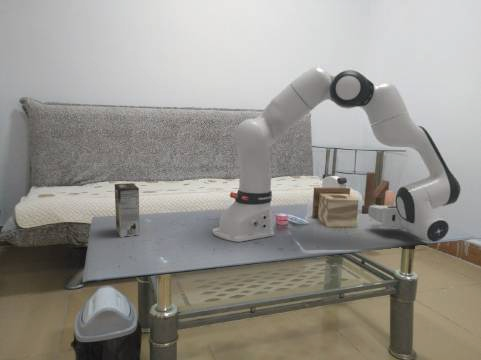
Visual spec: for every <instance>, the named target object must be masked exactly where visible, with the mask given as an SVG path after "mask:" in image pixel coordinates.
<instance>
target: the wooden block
mask: <svg viewBox="0 0 481 360" xmlns="http://www.w3.org/2000/svg"><path fill="white" fill-rule="evenodd" d="M376 175H377V173H376V172H373V171H368V172H366V177H365V178H366V179H365V180H366V181H365V188H364V189H365V191H364V202H363V205H362V206H361V214H364V215H366V214H367V215H368V210H369V206H374V205H379V206H384V202H385V193H386V190H389V189H390V181H388V180H384V179H383V180H382V181H381V182H380V183H379V184H378V185H377V186H376V185H375V184H376ZM375 187H376V188H375ZM374 200H375V201H374Z"/></svg>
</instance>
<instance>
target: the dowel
mask: <svg viewBox="0 0 481 360" xmlns="http://www.w3.org/2000/svg"><path fill="white" fill-rule="evenodd" d="M395 195H396V191H394V190H386V193H385V202H384V206H395V198H396V196H395Z"/></svg>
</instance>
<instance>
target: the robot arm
mask: <svg viewBox="0 0 481 360" xmlns="http://www.w3.org/2000/svg"><path fill="white" fill-rule="evenodd" d="M327 100H329V101H331V102H333V103H334V104H335V105H336V106H337V107H340V108H342V109H346V110H347V109H354V108H361V109H363V111H364V112H365V114H366V116H367V119H368V121H369V123H370V124H369V125H370V127H371V129H372V130H371V131H372V133H373V135H374V137H375V139H376V141H377V142H379V143H381V144H382V145H384V146H387V147H395V148H410V149H413V150H415V151H416V152H417V153H418V154H419V155H420V157H421V159H422V160H423V163H424V165H425V166H426V169H427V170H428V172H429V175H428V177H425V178H422V179H420V180H417V181H414V182H413V181H412V182H411V183H408V184H406V185H404V186H401V187H400V188H398V189H397V192H396V194H395V195H396V196H395V198H394V204H395V205H394V206H379V205H375V204H373V205H374V206H369V210H368V214H367V215H368V217H370V218H371V219H373V220H374V221H377V222H379V223H381V226H384V227H388V228H393V229H394V228H396V229H399V230H404V231H405V232H408V233H410V234H412V235H413V236H415V237H417V238H419V239H420V240H423V241H426V242H429V243H431V242H432V243H434V242H438V241H440V240H441V241H442V239H444V238H445V237H446V236H447V235H448V233H449V230H450V227H449V223H448V221H446V220H445V219H444V218H442V216H439V215H438V214H437V212H436V211H435V209H437V208H441V207H444V206H445V207H446V206H449V205H452V204H454V203H456V202H457V200H458V199H459V197H460V194H461V185H460V183H459V181H458V180H457V178H456V177H455V175H454V173H452V172H451V171H450V169H449V167H448V165H447V164H446V161H445V160H444V158H443V156H442V154H441V152H440V150H439V149H438V147H437V145H436V143H435V141H434V140H433V139H432V137H431V135H430V134H429V132H428V130H427V129H426V128H425V127H423V126H421V125H417V124H416V123H415V122H414V121H413V120H412V118H411V116H410V114H409V112H408V108H407V106H406V104H405V102H404V99H403V97H402V95H401V93H400V92H399V90H398V88H397V87H396V85H394V84H393V83H392V82H384V81H383V82H378V83H375V84H374V83H373V82H372V81H371V80H369V79H368V78H367V77H366V76H364V74H362V73H360V72H359V71H356V70H353V69H347V70H342V71H341V72H339V73H338V74H336V75H332V74H331V73H330V72H329V71H328V70H327V69H326V68H323V67H322V66H314V67H312V68H310V69H309V70H306V71H305V72H303V73H302V74H301V75H299V76H298V77H296V78H295V79H294V80H293V81H292V82H291V83H290V84H288V85H287V86H286V87H284V89H283V90H282V91H280V92H279V93H278V94H277V95H276V96H275V97H274V98H273V99H271V100H270V103H268V105H267V106H266V107H265V108H264V109H263V110H262V111H261V113H260V114H259V115H257V116H256V117H255V118H247V119H244V120H243V121H241V122H240V123H239V124H238V125H237V126H236V127H235V130H234V133H233V139H234V143H235V145H236V151H237V157H238V159H237V160H238V165H239V180H238V181H239V184H238V185H239V187H238V190H237V193H236V192H234V191H231V192H230V193H229V197H230V198H231V199H234V202H233V203H232V204H231V205H230V206H229V207H228V208H227V209H226V210H225V211H224V212H223V213H221V215H220V219H219V223H218V226H217V227H215V228H213V229H212V230H211V233H212V234H213V235H214V236H216V237H218V238H220V239H223V240H226V241H229V242H234V243H235V242H236V243H237V242H245V241H251V240H256V239H262V238H268V237H274V236H275V231H274V225H273V212H272V206H271V205H272V204H271V202H272V198H273V193H272V188H271V187H272V165H271V158H270V148H271V147H272V146H273V145H274V144H275V143H277V141H279V140H280V138H282V137H283V136H284V135H286V133H287V132H288V131H290V129H291V128H292V127H293V126H295V125H296V124H297V123H298V122H299V121H300V120H301V119H303V118H304V117H305V116H307V115H308V114H309V113H310V112H312V110H314V109H315V108H316V107H317V106H318V105H320V104H321V103H323V102H324V101H327Z"/></svg>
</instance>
